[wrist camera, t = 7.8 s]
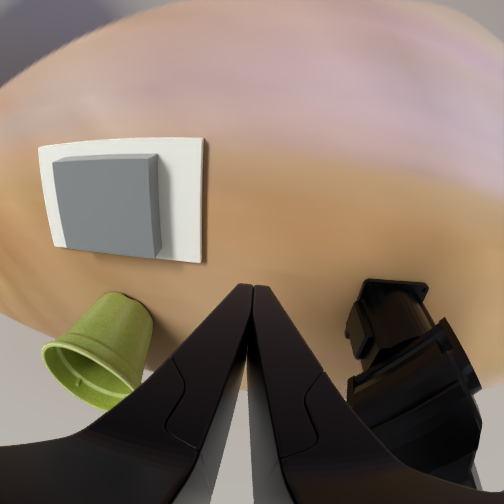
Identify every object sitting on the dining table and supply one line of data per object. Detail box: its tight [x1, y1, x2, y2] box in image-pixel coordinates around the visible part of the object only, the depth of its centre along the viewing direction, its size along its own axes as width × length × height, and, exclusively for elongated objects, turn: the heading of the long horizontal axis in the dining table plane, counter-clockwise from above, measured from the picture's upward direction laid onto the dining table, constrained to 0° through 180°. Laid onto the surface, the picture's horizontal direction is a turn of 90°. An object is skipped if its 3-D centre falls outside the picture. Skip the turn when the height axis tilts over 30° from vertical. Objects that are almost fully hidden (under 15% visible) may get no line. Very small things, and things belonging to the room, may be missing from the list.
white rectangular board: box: [38, 137, 204, 263], centre depth 19 cm, size 14×9×1 cm, turn 85°
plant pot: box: [41, 292, 153, 412], centre depth 22 cm, size 9×9×9 cm
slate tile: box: [52, 154, 162, 259], centre depth 18 cm, size 2×7×8 cm
